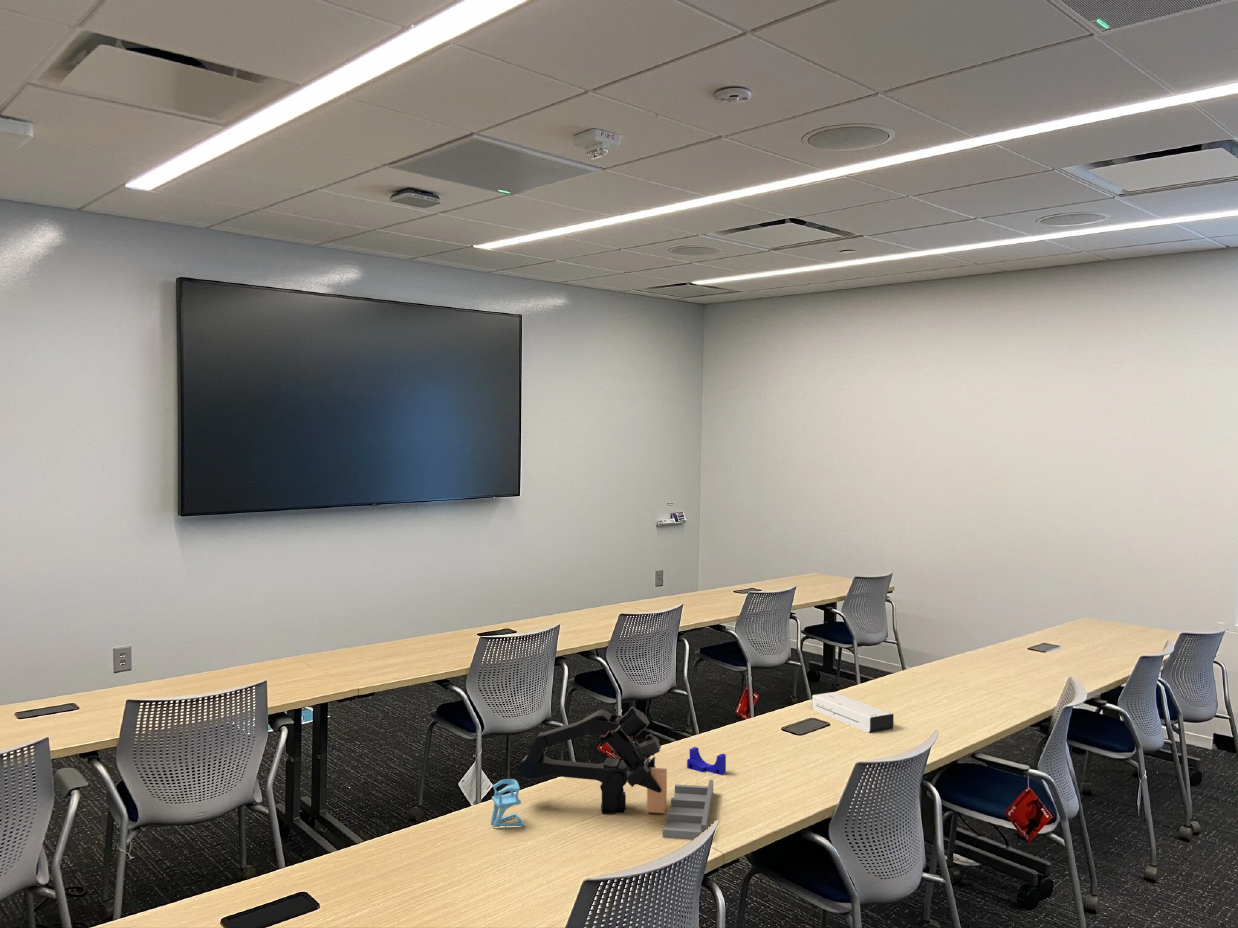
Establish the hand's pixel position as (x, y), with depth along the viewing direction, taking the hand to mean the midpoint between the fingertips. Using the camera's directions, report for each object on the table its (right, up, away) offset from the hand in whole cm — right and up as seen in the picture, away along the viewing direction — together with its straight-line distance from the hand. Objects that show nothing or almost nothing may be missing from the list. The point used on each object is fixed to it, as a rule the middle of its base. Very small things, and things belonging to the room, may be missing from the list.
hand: (661, 787), depth 254 cm
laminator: (+79, -7, +91) cm, 120 cm away
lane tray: (+8, -7, -1) cm, 11 cm away
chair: (-44, -7, -7) cm, 45 cm away
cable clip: (+16, -7, +35) cm, 39 cm away
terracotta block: (-1, -6, 0) cm, 6 cm away
